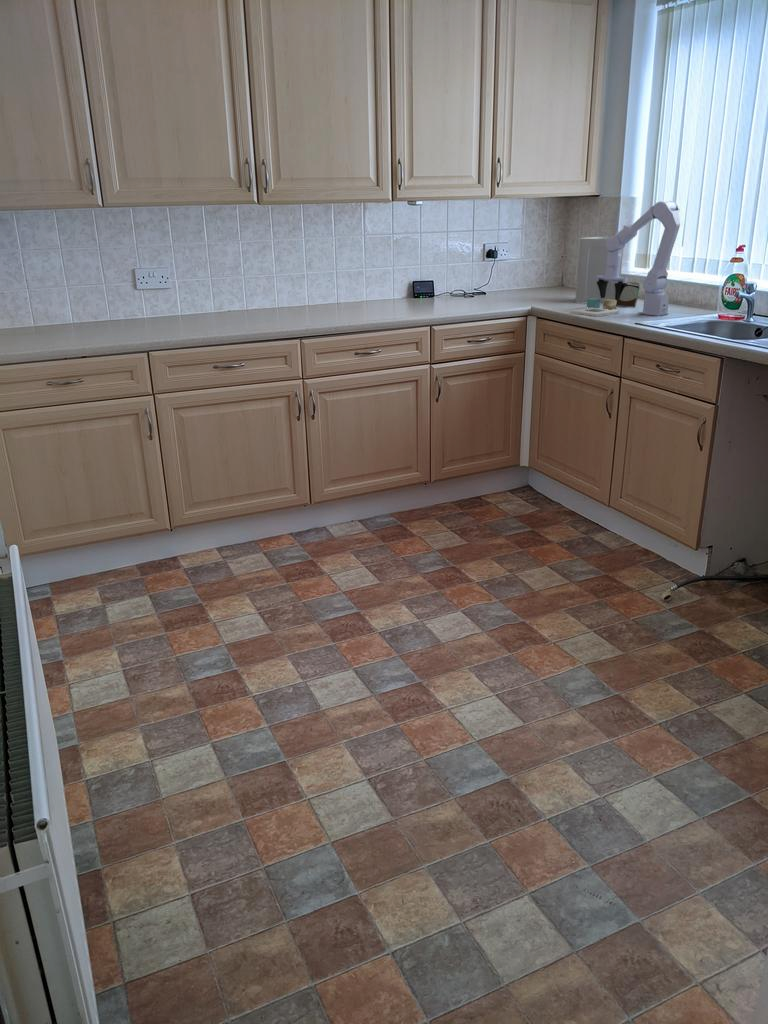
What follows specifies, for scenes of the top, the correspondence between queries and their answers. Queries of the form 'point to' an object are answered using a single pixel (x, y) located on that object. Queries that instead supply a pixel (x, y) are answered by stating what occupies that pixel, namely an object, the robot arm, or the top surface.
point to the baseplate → (594, 311)
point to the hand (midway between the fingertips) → (610, 298)
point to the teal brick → (593, 303)
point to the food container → (629, 294)
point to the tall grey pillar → (593, 269)
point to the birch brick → (609, 304)
